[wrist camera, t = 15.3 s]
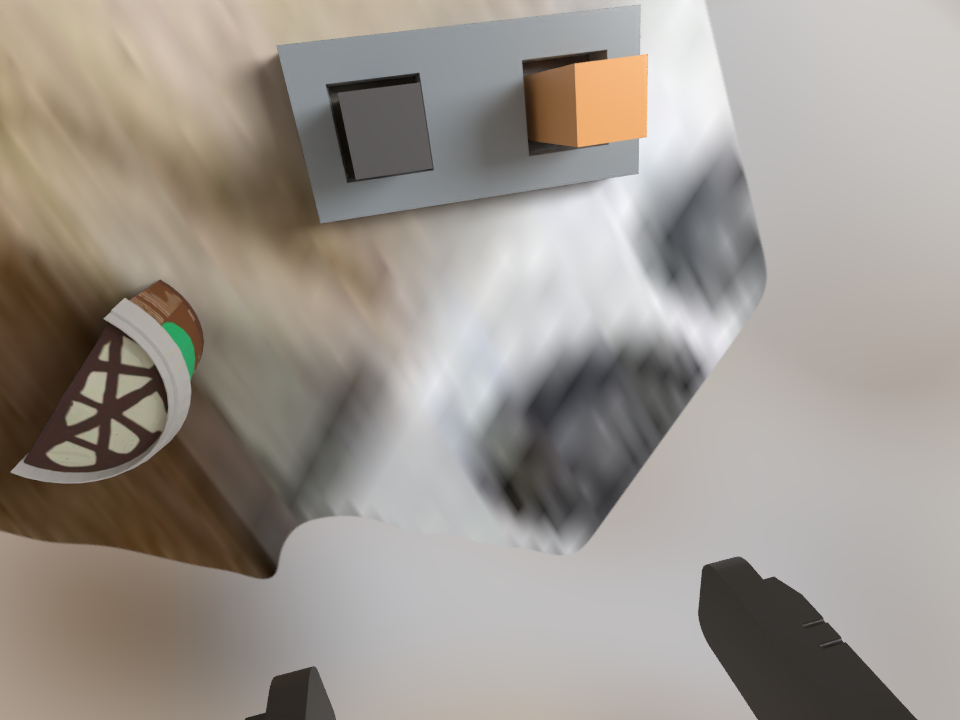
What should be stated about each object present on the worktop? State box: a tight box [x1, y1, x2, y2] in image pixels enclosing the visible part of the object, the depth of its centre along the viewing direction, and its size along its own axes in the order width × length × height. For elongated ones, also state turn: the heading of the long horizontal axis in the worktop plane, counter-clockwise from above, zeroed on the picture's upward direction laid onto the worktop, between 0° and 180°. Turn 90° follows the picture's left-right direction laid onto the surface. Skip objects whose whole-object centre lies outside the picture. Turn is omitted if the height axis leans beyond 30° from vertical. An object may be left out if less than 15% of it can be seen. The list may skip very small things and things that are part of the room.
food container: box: [10, 280, 204, 483], centre depth 34 cm, size 12×6×10 cm, turn 141°
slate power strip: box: [276, 5, 640, 223], centre depth 32 cm, size 22×10×10 cm, turn 97°
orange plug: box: [523, 54, 648, 147], centre depth 33 cm, size 4×4×10 cm
